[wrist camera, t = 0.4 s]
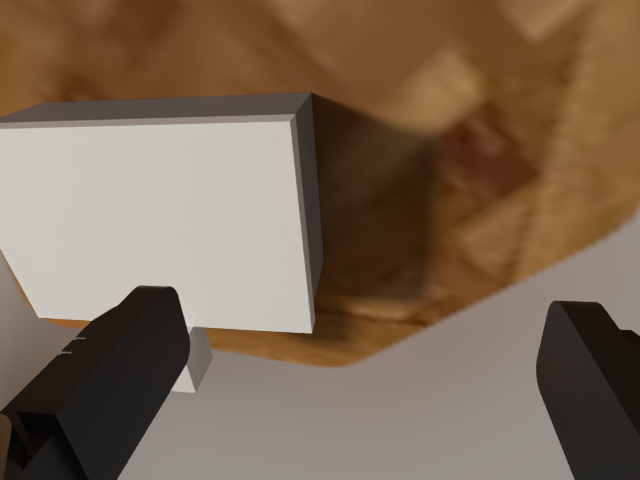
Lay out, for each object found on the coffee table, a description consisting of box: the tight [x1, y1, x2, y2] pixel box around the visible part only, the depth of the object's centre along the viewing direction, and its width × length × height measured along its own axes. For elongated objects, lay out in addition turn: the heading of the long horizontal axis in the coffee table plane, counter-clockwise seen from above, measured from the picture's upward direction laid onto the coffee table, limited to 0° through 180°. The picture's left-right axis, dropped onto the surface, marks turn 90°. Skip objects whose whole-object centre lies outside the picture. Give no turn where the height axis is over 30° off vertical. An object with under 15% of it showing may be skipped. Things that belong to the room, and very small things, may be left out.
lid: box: [0, 114, 315, 393], centre depth 24 cm, size 17×19×4 cm
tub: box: [0, 93, 324, 302], centre depth 26 cm, size 12×18×6 cm, turn 94°
